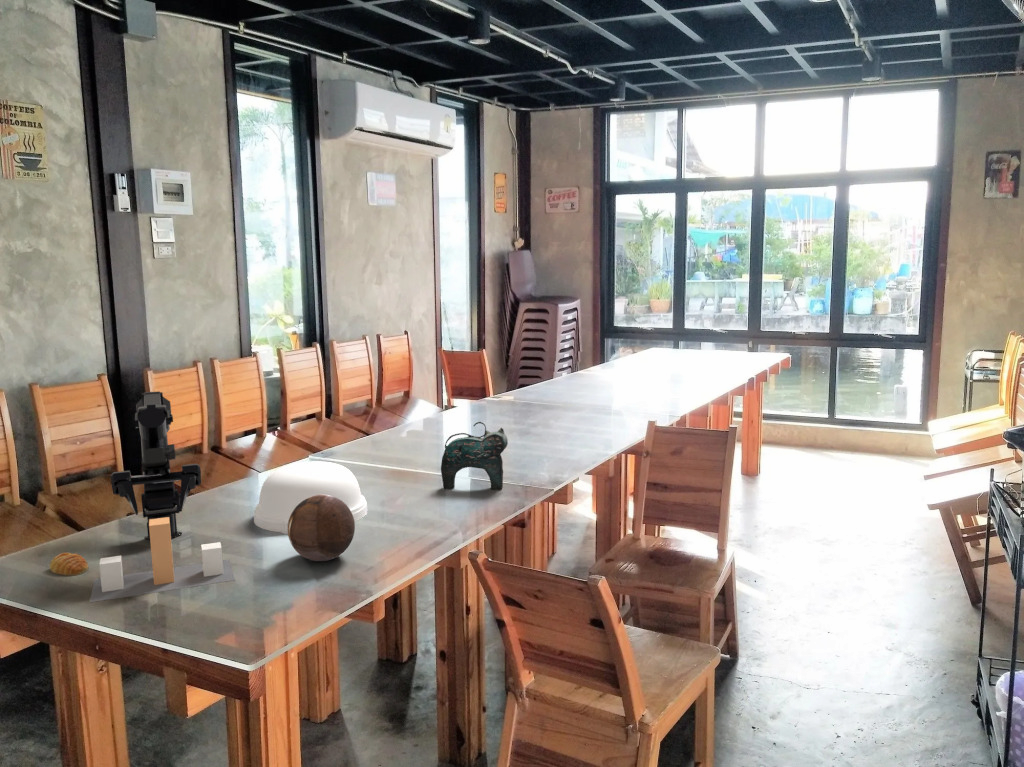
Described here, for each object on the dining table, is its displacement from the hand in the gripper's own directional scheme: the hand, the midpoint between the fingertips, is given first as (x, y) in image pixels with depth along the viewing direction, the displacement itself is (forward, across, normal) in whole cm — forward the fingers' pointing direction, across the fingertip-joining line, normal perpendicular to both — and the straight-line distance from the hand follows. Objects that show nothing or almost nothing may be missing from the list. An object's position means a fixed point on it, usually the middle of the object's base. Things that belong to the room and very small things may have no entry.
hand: (159, 511), depth 190 cm
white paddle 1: (+15, -10, +4) cm, 18 cm away
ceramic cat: (-14, +86, +34) cm, 94 cm away
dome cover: (-10, +37, +30) cm, 48 cm away
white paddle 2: (+15, +10, +4) cm, 18 cm away
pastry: (+4, -19, +16) cm, 25 cm away
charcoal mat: (+15, 0, +4) cm, 16 cm away
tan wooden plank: (+15, 0, +4) cm, 15 cm away
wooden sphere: (+16, +34, +4) cm, 38 cm away
